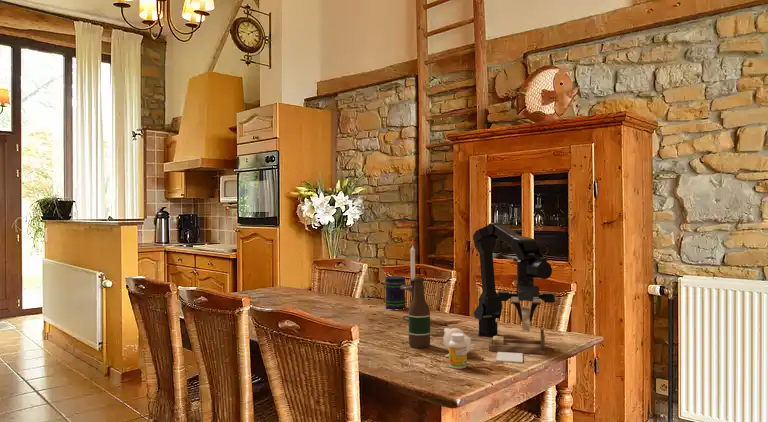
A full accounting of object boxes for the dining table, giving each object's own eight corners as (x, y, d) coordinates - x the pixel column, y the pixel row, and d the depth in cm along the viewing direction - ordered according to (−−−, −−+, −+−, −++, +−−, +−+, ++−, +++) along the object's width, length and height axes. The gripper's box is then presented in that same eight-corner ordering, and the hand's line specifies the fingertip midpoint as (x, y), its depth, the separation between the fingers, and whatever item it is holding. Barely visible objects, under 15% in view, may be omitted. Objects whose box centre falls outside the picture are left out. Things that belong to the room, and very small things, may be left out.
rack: (488, 351, 184) (488, 333, 184) (490, 343, 194) (490, 326, 194) (544, 354, 180) (544, 335, 180) (543, 346, 189) (543, 329, 189)
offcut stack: (492, 347, 185) (492, 340, 185) (493, 342, 192) (493, 335, 192) (503, 347, 184) (503, 340, 184) (504, 342, 191) (504, 335, 191)
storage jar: (383, 310, 259) (383, 278, 259) (386, 306, 269) (386, 275, 269) (404, 310, 258) (404, 278, 258) (407, 306, 267) (406, 276, 267)
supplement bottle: (447, 364, 169) (447, 332, 169) (464, 363, 170) (464, 332, 170) (450, 369, 164) (450, 336, 164) (468, 368, 164) (468, 336, 164)
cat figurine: (468, 328, 176) (452, 320, 188) (443, 348, 173) (428, 338, 185) (481, 349, 178) (464, 340, 189) (456, 370, 175) (440, 359, 187)
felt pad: (496, 361, 172) (496, 360, 172) (497, 353, 181) (497, 351, 181) (522, 362, 170) (522, 361, 170) (522, 354, 179) (522, 353, 179)
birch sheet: (522, 331, 182) (522, 310, 182) (522, 326, 190) (522, 306, 190) (529, 331, 182) (529, 310, 182) (529, 326, 189) (529, 306, 189)
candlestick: (409, 315, 245) (409, 237, 245) (430, 318, 239) (429, 238, 238) (395, 320, 236) (395, 238, 236) (417, 323, 230) (416, 239, 230)
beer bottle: (432, 343, 194) (432, 276, 194) (427, 349, 187) (426, 278, 187) (411, 342, 197) (411, 275, 197) (405, 347, 190) (405, 278, 189)
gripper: (496, 278, 180) (496, 325, 180) (555, 279, 176) (556, 328, 176) (497, 274, 191) (498, 319, 191) (553, 275, 186) (554, 321, 186)
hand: (525, 322), depth 186 cm, fingers closed on birch sheet, 2 cm apart
